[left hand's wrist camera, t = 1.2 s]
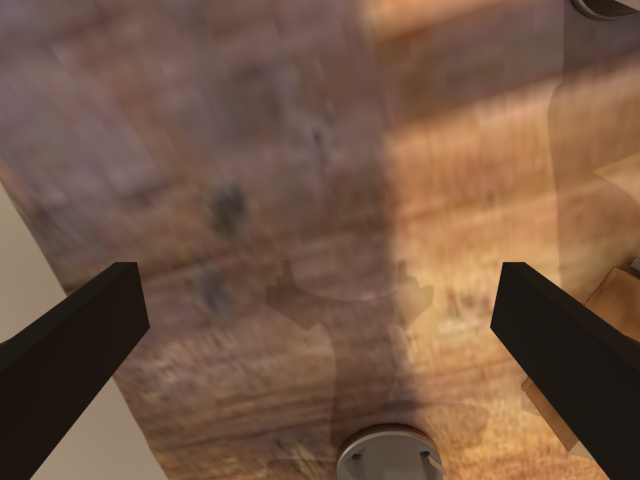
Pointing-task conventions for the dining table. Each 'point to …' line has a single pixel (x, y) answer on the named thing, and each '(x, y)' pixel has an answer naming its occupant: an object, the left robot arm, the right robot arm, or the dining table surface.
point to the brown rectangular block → (617, 310)
